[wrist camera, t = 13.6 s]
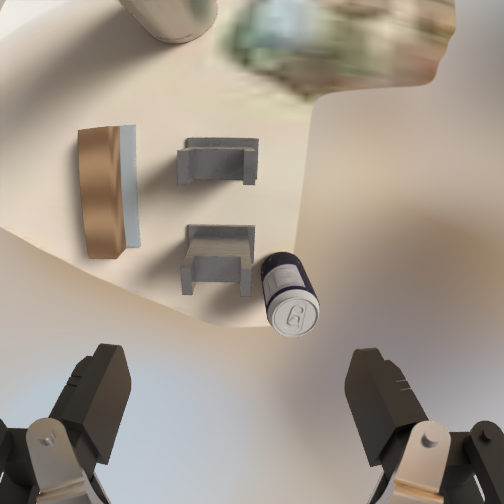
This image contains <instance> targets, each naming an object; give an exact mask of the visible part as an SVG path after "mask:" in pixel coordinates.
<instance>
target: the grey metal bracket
mask: <svg viewBox="0 0 504 504" xmlns="http://www.w3.org/2000/svg"><path fill="white" fill-rule="evenodd" d="M258 141H259V139H256V138H188V148H185V149H181V150H178V151H177V184H189V183H190V182H191V181H192V180H193V179H224V180H243V185H255V180H257V166H258Z"/></svg>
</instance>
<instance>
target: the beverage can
mask: <svg viewBox="0 0 504 504" xmlns="http://www.w3.org/2000/svg"><path fill="white" fill-rule="evenodd" d="M261 280H262V287H263V293H264V300H265V307H266V313H267V319H268V321H269V323H270V324H271V325H272V326H273V327H274V329H275V330H276V331H277V332H278V333H279V334H281V335H283V336H287V337H298V336H302V335H304V334H306V333H308V332H310V331H311V330H312V329H313V328H314V327H315V325H316V324H317V321H318V318H319V311H320V304H319V301H318V299H317V296H316V294H315V292H314V290H313V287H312V285H311V283H310V281H309V279H308V276H307V274H306V272H305V270H304V268H303V265H302V263H301V261H300V260H299V259H298V258H297V257H296V256H295V255H293V254H291V253H288V252H278V253H275V254H273V255H271V256H269V257H268V258H267V259H266V260H265V261H264V263H263V264H262V267H261Z"/></svg>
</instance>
